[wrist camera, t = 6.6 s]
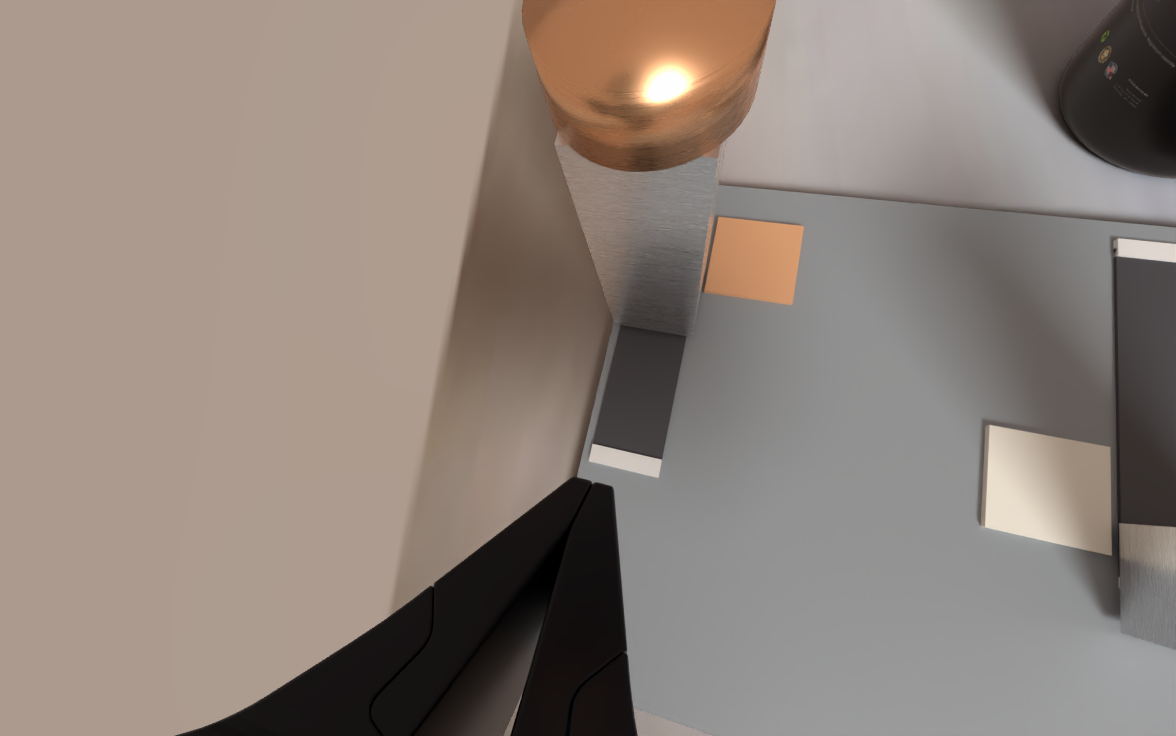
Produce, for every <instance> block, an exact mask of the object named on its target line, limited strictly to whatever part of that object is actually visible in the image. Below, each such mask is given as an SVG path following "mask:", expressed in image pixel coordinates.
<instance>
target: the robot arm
mask: <svg viewBox="0 0 1176 736" xmlns="http://www.w3.org/2000/svg"><path fill="white" fill-rule="evenodd" d="M522 692H523V694H522ZM521 695H522V697H521ZM520 697H521V701H520V704H519V708H518V711H517V715H516V718H515V722H514V725H513V729H512V732H511V736H638V735H637V729H636V724H635V718H634V709H633V701H632V692H631V683H630V672H629V660H628V655H627V639H626V627H625V615H624V603H623V591H622V579H621V567H620V555H619V543H618V531H617V519H616V507H615V495H614V488H613V487H612V486H610V485H606V484H602V483H598V482H595V483H592V482H591V481H590V480H587V479H583V478H579V477H572V478H570V479H569V480H568V481H566V482H565V483H564V484H562V485H561V486H560V487H558V488H557V489H556V490H555V491H553V492H552V493H551V494H549V495H548V496H547V497H545V498H544V499H543V500H542V501H540V502H539V503H538V504H536V505H535V506H534V507H532V508H531V509H530V510H529V511H527V512H526V513H525V514H523V515H522V516H521V517H519V518H518V519H517V520H516V521H514V522H513V523H512V524H510V525H509V526H508V527H506V528H505V529H504V530H503V531H501V532H500V533H499V534H497V535H496V536H495V537H493V538H492V539H491V540H490V541H488V542H487V543H486V544H484V545H483V546H482V547H480V548H479V549H478V550H477V551H475V552H474V553H473V554H471V555H470V556H469V557H467V558H466V559H465V560H464V561H462V562H461V563H460V564H458V565H457V566H456V567H454V568H453V569H452V570H451V571H449V572H448V573H447V574H445V575H444V576H443V577H441V578H440V579H439V580H438V581H436V582H435V583H434V588H433V586H429V587H428V588H427V589H426V590H424V591H423V592H422V593H420V594H419V595H418V596H416V597H415V598H414V599H413V600H411V601H410V602H409V603H407V604H406V605H404V606H403V607H402V608H400V609H399V610H398V611H396V612H395V613H393V614H392V615H391V616H389V617H388V618H387V619H385V620H384V621H382V622H381V623H379V624H378V625H377V626H375V627H374V628H372V629H370V630H369V631H367V632H366V633H364V634H363V635H361V636H360V637H358V638H357V639H355V640H354V641H352V642H351V643H349V644H348V645H346V646H345V647H343V648H341V649H340V650H338V651H337V652H335V653H334V654H332V655H330V656H329V657H327V658H326V659H324V660H323V661H321V662H319V663H318V664H316V665H315V666H313V667H312V668H310V669H308V670H307V671H305V672H304V673H302V674H301V675H299V676H297V677H296V678H294V679H293V680H291V681H290V682H288V683H286V684H285V685H283V686H282V687H280V688H278V689H277V690H275V691H274V692H272V693H271V694H269V695H268V696H266V697H264V698H263V699H261V700H259V701H257V702H256V703H254V704H252V705H250V706H249V707H247V708H245V709H243V710H241V711H239V712H237V713H236V714H233V715H231V716H229V717H227V718H224V719H222V720H220V721H218V722H216V723H212V724H210V725H208V726H205V727H202V728H199V729H196V730H193V731H190V732H186V733H183V734H179V735H176V736H503V735H504V733H505V730H506V728H507V726H508V724H509V721H510V719H511V717H512V715H513V713H514V710H515V708H516V706H517V704H518V701H519V699H520Z"/></svg>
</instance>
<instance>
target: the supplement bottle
mask: <svg viewBox="0 0 1176 736" xmlns="http://www.w3.org/2000/svg"><path fill="white" fill-rule="evenodd" d="M1059 98H1060V107H1061V112H1062V114H1063V117H1064V120H1065V122H1066V123H1067V125H1068V127H1069V129H1070V130H1071V132H1072V133H1073V134H1074V135H1075V137H1076V138H1077V139H1078V140H1079V141H1080V142H1081V143H1082V144H1083V145H1084V146H1085V147H1087V148H1088V149H1089V150H1090V151H1092V152H1093V153H1094V154H1096V155H1097V156H1099V157H1101V158H1102V159H1104V160H1106V161H1108V162H1110V163H1112V164H1114V165H1116V166H1119V167H1121V168H1124V169H1127V170H1130V171H1133V172H1136V173H1140V174H1145V175H1149V176H1155V177H1161V178H1171V179H1176V0H1121V1H1120V2H1119V3H1118V4H1117V6H1116V7H1115V8H1114V9H1113V10H1112V11H1111V12H1110V13H1109V14H1108V16H1107V17H1106V18H1105V19H1104V20H1103V21H1102V22H1101V23H1100V25H1099V26H1098V27H1097V28H1096V29H1095V31H1094V32H1093V33H1092V34H1091V35H1090V36H1089V37H1088V38H1087V40H1086V41H1085V42H1084V43H1083V44H1082V45H1081V46H1080V48H1079V49H1078V50H1077V51H1076V53H1075V54H1074V55H1073V57H1072V58H1071V60H1070V61H1069V63H1068V65H1067V67H1066V69H1065V71H1064V74H1063V76H1062V80H1061V84H1060V92H1059Z"/></svg>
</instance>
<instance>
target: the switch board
mask: <svg viewBox="0 0 1176 736" xmlns="http://www.w3.org/2000/svg"><path fill="white" fill-rule="evenodd" d="M577 477H579V478H583V479H587V480H590V481H591V482H592V483H595V482H598V483H602V484H606V485H610V486H612V487H613V488H614V495H615V507H616V519H617V531H618V543H619V555H620V567H621V579H622V591H623V603H624V615H625V627H626V639H627V655H628V660H629V672H630V683H631V692H632V701H633V707H634V708H637V709H640V710H642V711H645V712H648V713H651V714H654V715H656V716H659V717H662V718H665V719H668V720H671V721H673V722H676V723H679V724H682V725H685V726H687V727H690V728H693V729H696V730H699V731H701V732H704V733H707V734H710V735H713V736H1176V650H1174V649H1171V648H1167V647H1164V646H1161V645H1158V644H1155V643H1152V642H1148V641H1145V640H1142V639H1139V638H1136V637H1133V636H1129V635H1126V634H1123V633H1121V621H1120V558H1119V523H1123V524H1137V525H1151V526H1164V527H1176V228H1175V227H1164V226H1154V225H1143V224H1132V223H1122V222H1111V221H1100V220H1090V219H1079V218H1068V217H1057V216H1047V215H1036V214H1025V213H1015V212H1004V211H993V210H983V209H972V208H961V207H951V206H940V205H929V204H918V203H908V202H897V201H886V200H876V199H865V198H854V197H844V196H833V195H822V194H811V193H801V192H790V191H779V190H769V189H758V188H747V187H737V186H726V185H719V189H718V195H717V201H716V207H715V214H714V220H713V226H712V232H711V238H710V245H709V251H708V257H707V263H706V269H705V274H704V279H703V284H702V289H701V294H700V299H699V304H698V309H697V315H696V320H695V325H694V330H693V335H692V337H689V336H683V335H677V334H671V333H665V332H659V331H653V330H647V329H641V328H635V327H629V326H623V325H617V324H614V322H613V326H612V331H611V335H610V339H609V343H608V348H607V352H606V356H605V360H604V364H603V369H602V373H601V377H600V381H599V385H598V390H597V394H596V398H595V402H594V407H593V411H592V415H591V419H590V423H589V428H588V432H587V436H586V440H585V445H584V449H583V453H582V457H581V461H580V466H579V470H578V474H577Z"/></svg>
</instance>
